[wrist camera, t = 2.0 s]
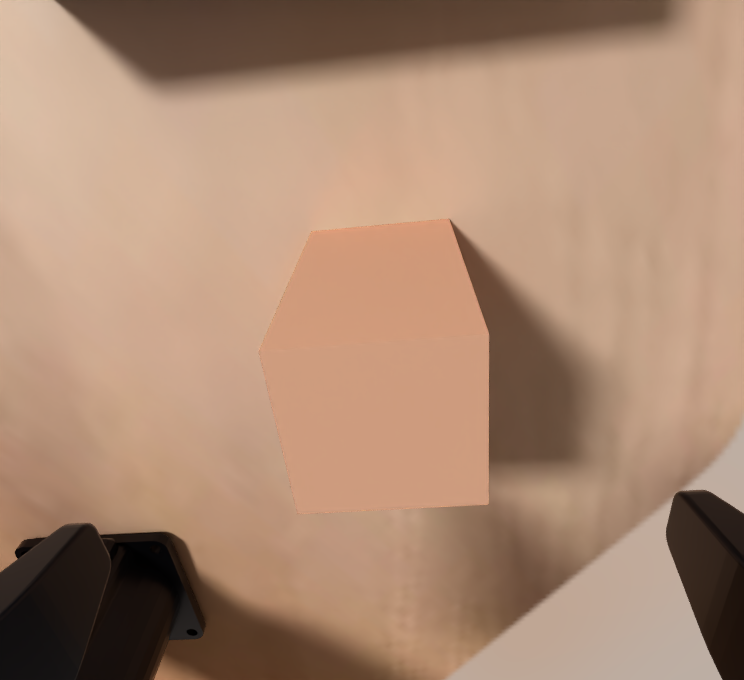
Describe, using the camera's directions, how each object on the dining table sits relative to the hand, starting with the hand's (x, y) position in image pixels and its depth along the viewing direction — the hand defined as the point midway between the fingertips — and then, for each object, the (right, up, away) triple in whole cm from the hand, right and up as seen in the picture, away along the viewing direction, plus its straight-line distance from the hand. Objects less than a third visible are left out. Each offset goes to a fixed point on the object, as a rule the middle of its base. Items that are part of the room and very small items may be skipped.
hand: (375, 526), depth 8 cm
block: (0, +4, +8) cm, 9 cm away
